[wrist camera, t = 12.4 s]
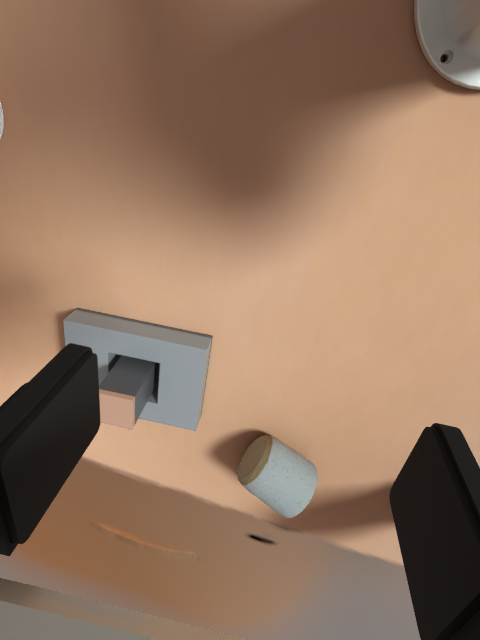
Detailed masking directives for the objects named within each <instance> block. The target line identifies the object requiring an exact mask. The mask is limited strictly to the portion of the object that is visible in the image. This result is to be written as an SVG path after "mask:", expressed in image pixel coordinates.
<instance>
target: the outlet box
mask: <svg viewBox="0 0 480 640" xmlns="http://www.w3.org/2000/svg"><path fill="white" fill-rule="evenodd" d="M63 324H64V336H65V346H66V345H68V344H69V343H73V344H78V345H82V346H87V347H90V348H91V349H92V352H93V353H95V354H97V358H98V378H99V385H100V384H101V382H102V381H103V380H104V378H105V377H106V376H107V374H108V373H109V372H110V370H111V369H112V368H113V367H114V365H115V364H116V363H117V361H118V360H119V359H120V357H121V356H122V355H124V356H129V357H133V358H138V359H143V360H148V361H152V362H157V363H158V379H157V384H156V386H155V388H154V390H153V392H152V394H151V396H150V397H149V399H148V401H147V403H146V405H145V407H144V409H143V411H142V412H141V414H140V416H139V418H138V419H143V420H147V421H152V422H157V423H161V424H166V425H170V426H175V427H179V428H184V429H189V430H193V431H196V429H197V426H198V423H199V420H200V417H201V413H202V406H203V399H204V392H205V385H206V378H207V371H208V364H209V358H210V351H211V344H212V337H213V336H210V335H206V334H201V333H196V332H191V331H186V330H182V329H177V328H172V327H167V326H162V325H157V324H153V323H148V322H143V321H138V320H133V319H128V318H124V317H119V316H114V315H109V314H104V313H100V312H95V311H90V310H85V309H80V308H77V309H76V310H74V311H73V312H72V313H71V314H70V315H68V316H67V317H66V318H65V319H64V320H63Z"/></svg>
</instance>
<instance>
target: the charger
mask: <svg viewBox="0 0 480 640" xmlns="http://www.w3.org/2000/svg"><path fill="white" fill-rule="evenodd" d="M157 379H158V363H157V362H152V361H148V360H143V359H138V358H133V357H129V356H124V355H122V356H121V357H120V359H119V360H118V361H117V363H116V364H115V365H114V367H113V368H112V369H111V370H110V372H109V373H108V374H107V376H106V377H105V378H104V380H103V381H102V382H101V384H100V385H99V400H100V423H104V424H109V425H113V426H118V427H122V428H127V429H133V427H134V425H135V424H136V422H137V420H138V418H139V416H140V414H141V412H142V411H143V409H144V407H145V405H146V403H147V401H148V399H149V397H150V396H151V394H152V392H153V390H154V388H155V386H156V384H157Z"/></svg>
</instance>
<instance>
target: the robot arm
mask: <svg viewBox="0 0 480 640" xmlns="http://www.w3.org/2000/svg"><path fill="white" fill-rule="evenodd" d="M414 21H415V28H416V35H417V38H418V41H419V44H420V46H421V49H422V52H423V54H424V55H425V57H426V59H427V60H428V62H429V63H430V65H431V66H432V67H433V68H434V69H435V70H436V71H437V72H438V73H439V74H440V75H441V76H442V77H443V78H445V79H447V80H448V81H450V82H452V83H453V84H455V85H458V86H462V87H465V88H468V89H477V90H480V0H414ZM442 55H445V56H446V60H445V62H444V63H443V62H441V60H440V58H441V56H442ZM99 426H100V400H99V378H98V358H97V354H95V353H93V352H92V349H91V348H90V347H87V346H82V345H78V344H73V343H69V344H68V345H66V346H65V347H64V348H63V349H62V350H61V351H60V352H59V353H58V354H57V355H56V356H55V357H54V358H53V359H52V360H51V361H50V362H49V363H48V364H47V365H46V366H45V367H44V368H43V369H42V370H41V371H40V372H39V373H38V374H37V375H36V376H35V377H33V378H32V379H31V380H30V381H29V382H28V383H25V384H24V385H23V386H21V387H20V388H19V389H18V390H17V391H16V392H15V393H14V394H13V395H12V396H11V397H10V398H9V399H8V400H7V401H6V402H4V403H3V404H2V405H1V406H0V554H2V555H7V556H10V555H11V553H12V552H13V550H14V549H15V547H16V546H17V544H18V543H19V544H23V543H24V542H26V540H27V539H28V538H29V537H30V535H31V534H32V532H33V530H34V529H35V527H36V526H37V524H38V523H39V521H40V520H41V518H42V517H43V515H44V514H45V512H46V510H47V509H48V507H49V506H50V504H51V503H52V501H53V500H54V498H55V497H56V495H57V494H58V492H59V490H60V489H61V487H62V486H63V484H64V483H65V481H66V480H67V478H68V477H69V475H70V474H71V472H72V471H73V469H74V467H75V466H76V464H77V463H78V461H79V460H80V458H81V457H82V455H83V454H84V452H85V451H86V449H87V447H88V446H89V444H90V443H91V441H92V440H93V438H94V437H95V435H96V434H97V432H98V429H99ZM390 504H391V509H392V513H393V518H394V522H395V527H396V531H397V536H398V540H399V545H400V549H401V554H402V558H403V563H404V567H405V571H406V576H407V581H408V585H409V590H410V594H411V598H412V603H413V608H414V612H415V617H416V621H417V626H418V630H419V634H420V638H421V640H480V468H479V466H478V464H477V462H476V460H475V458H474V456H473V454H472V452H471V450H470V448H469V446H468V444H467V442H466V440H465V438H464V436H463V434H462V432H461V430H460V429H458V428H456V427H452V426H447V425H443V424H438V423H435V424H433V425H432V426H431V427H426V428H425V429H424V430H423V432H422V434H421V436H420V437H419V439H418V441H417V443H416V445H415V446H414V448H413V450H412V452H411V453H410V455H409V457H408V459H407V461H406V462H405V464H404V466H403V468H402V470H401V471H400V473H399V475H398V477H397V478H396V480H395V482H394V484H393V486H392V487H391V490H390ZM0 640H246V639H242V638H238V637H234V636H230V635H227V634H223V633H219V632H215V631H211V630H207V629H203V628H199V627H196V626H192V625H188V624H184V623H180V622H176V621H172V620H168V619H164V618H160V617H156V616H153V615H148V614H145V613H141V612H136V611H133V610H129V609H125V608H121V607H116V606H113V605H109V604H104V603H101V602H97V601H93V600H89V599H85V598H81V597H77V596H73V595H69V594H65V593H61V592H57V591H53V590H49V589H45V588H40V587H36V586H31V585H28V584H23V583H19V582H14V581H10V580H6V579H2V578H0Z"/></svg>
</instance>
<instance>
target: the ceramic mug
mask: <svg viewBox="0 0 480 640" xmlns="http://www.w3.org/2000/svg"><path fill="white" fill-rule="evenodd" d="M237 475H238V479H239V482H240V483H241V484H242V485H243V486H244V487H245V488H246V489H247V490H248V491H249V492H250V493H252V494H253V495H255V496H256V497H258V498H259V499H261V500H262V501H263V502H264V503H266V504H267V505H268V506H270V507H271V508H272V509H274V510H275V511H276V512H277V513H279V514H280V515H282V516H283V517H286V518H292V517H294V516H297V515H298V514H299V513H300V512H302V511H303V510H304V509H305V507H306V506H307V505H308V504H309V502H310V500H311V499H312V496H313V494H314V492H315V489H316V485H317V477H318V474H317V469H316V467H315V465H314V464H313V463H312V462H310V461H309V460H307V459H305V458H304V457H303V456H301V455H300V454H298V453H297V452H295V451H294V450H292V449H291V448H289V447H288V446H286V445H285V444H283V443H282V442H280V441H279V440H277V439H276V438H273V437H271V436H267V435H264V436H261V437H259V438H257V439H256V440H254V441H253V442H252V443H251V445H250V446H249V447H248V448H247V450H246V451H245V453H244V455H243V457H242V459H241V461H240V464H239V467H238V470H237Z"/></svg>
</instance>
